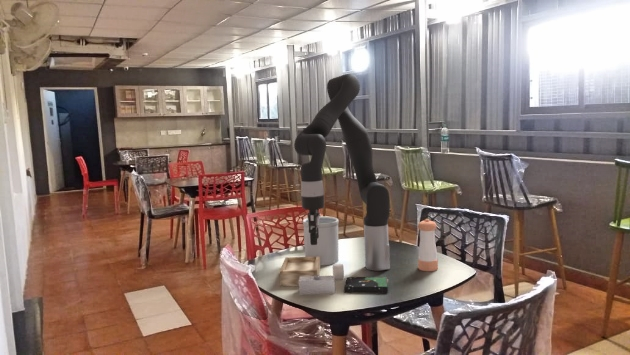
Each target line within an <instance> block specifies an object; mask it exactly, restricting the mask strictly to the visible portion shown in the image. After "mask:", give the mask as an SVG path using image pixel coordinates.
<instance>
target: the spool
mask: <svg viewBox="0 0 630 355" xmlns="http://www.w3.org/2000/svg"><path fill="white" fill-rule="evenodd" d="M332 276H335V281H343V280H345V269H344V264H343V263H342V264H341V263H334V264H332Z"/></svg>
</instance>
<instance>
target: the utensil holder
mask: <svg viewBox="0 0 630 355" xmlns="http://www.w3.org/2000/svg"><path fill="white" fill-rule="evenodd" d="M319 219H320V223H319V227H318V230H319V238H318V239H317V245H311V243H310V233H309V227H308V218H307V217H306V218H303V219H302V225H303V239H304V240H303V241H304V243H303V244H304V257H317V256H320V267H321V266H331V265H334V264H337V263H338V262H339V218H337V217H333V216H325V215H324V216H320V218H319ZM311 229H312V228H311Z"/></svg>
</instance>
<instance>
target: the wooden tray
mask: <svg viewBox="0 0 630 355" xmlns="http://www.w3.org/2000/svg"><path fill="white" fill-rule="evenodd" d="M320 273H321V266H320V256H317V257H305V256H291V257H290V256H289V257H285V258H284V260H283V262H282V265H281V266H280V269H279V286H280V287H297V286H298V287H299V278H300V277H303V276H314V275H319V276H321V274H320Z"/></svg>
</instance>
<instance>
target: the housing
mask: <svg viewBox="0 0 630 355" xmlns="http://www.w3.org/2000/svg"><path fill="white" fill-rule="evenodd" d="M335 281H336V280H335V276H333V275H314V276H303V277H300V278H299V286H298V289H299V295H300V296H302V295H330V294H331V295H332V294H333V295H335V294H336V282H335Z"/></svg>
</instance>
